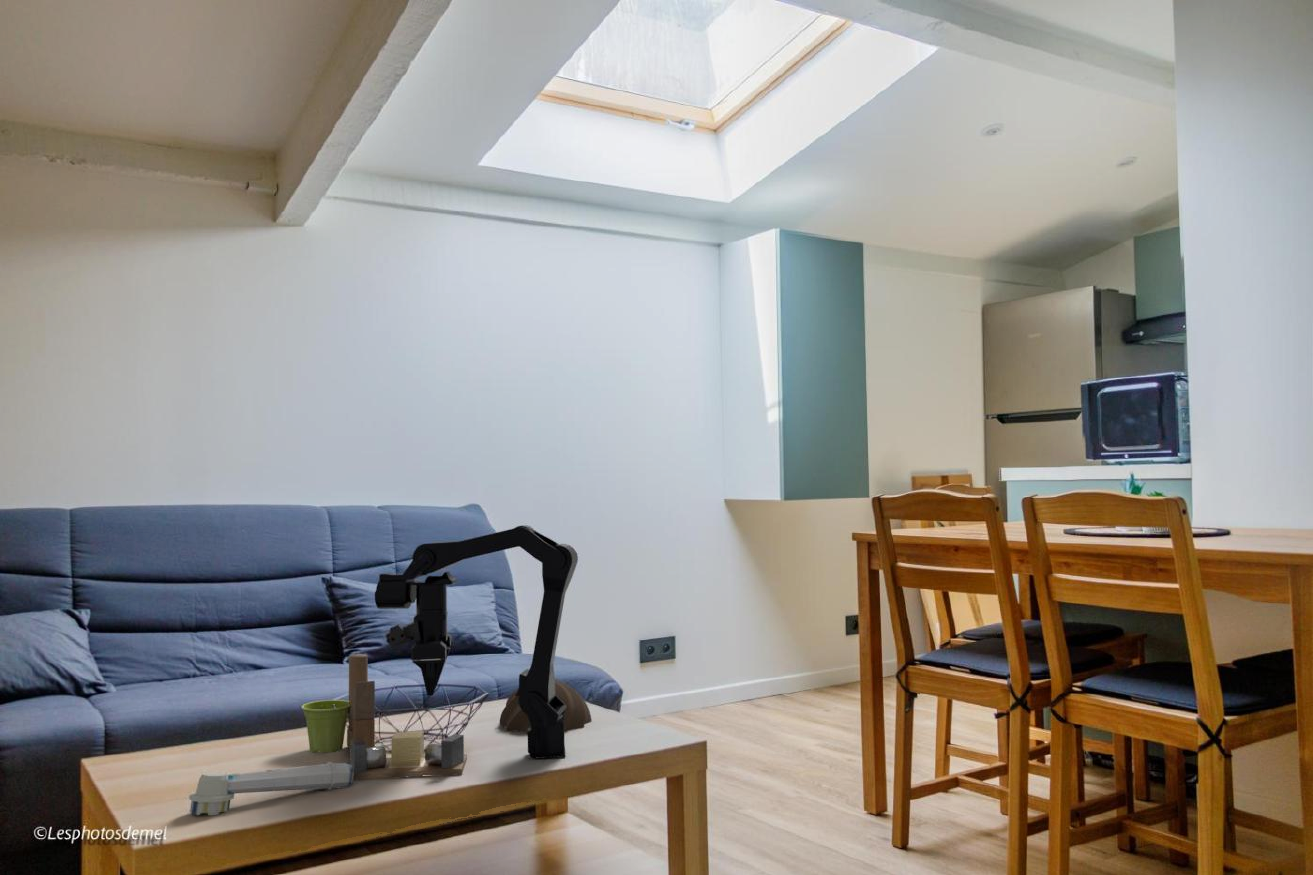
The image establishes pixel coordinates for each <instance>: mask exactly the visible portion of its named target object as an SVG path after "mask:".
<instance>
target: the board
mask: <svg viewBox="0 0 1313 875" xmlns="http://www.w3.org/2000/svg"><path fill="white" fill-rule="evenodd" d="M467 755H468V754H467V753H465V754H464V762H463V763H461V764H460V765H458V766H457V767H455V768H453V769H442V765H428V764H426V761H425V755H424V759H423V761H422V763H421V766H408V767H391V757H386V766H385V767H379V768H372V769H366V773H359V774H353V781H354V780H355V781H361V780H376V779H377V780H378V779H379V780H381V779H395V778H394V777H403V778H407V777H406V776H423V775H443V776H455V775H454V774H462V775H463V773H462V772H464V770H465V766H466V762H467V760H468V759H467ZM423 777H424V776H423Z"/></svg>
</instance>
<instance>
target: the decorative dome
mask: <svg viewBox="0 0 1313 875" xmlns="http://www.w3.org/2000/svg"><path fill="white" fill-rule="evenodd" d="M517 692H518V688H516V689H515V690H514V691H513V692H512V693H511V694H510V696H509V697H508V698H507V700H506V702H505V707H504V708H503V709H502V711H501V714H500V718H499V726H501V727H504V728H505V731H506V732H520V733H524V734H527V735H528V728H531V724H530V721H529V719H528V716H527V714H525V713H524V712H523V711H522V709H521V708H520V707H519V704H518V698H519V696H517V697H516V696H515V695H516V693H517ZM555 695H556V696H557V697H558V698H559V699H560V700H561V701H562V702H563V703H564V704H565V705H566V709H565V712H564V715H563V716H562V717H561V718H564V732H567V731H571V730H578V729H583V728H585V725H586V724H589V723H592V715H591V712H590V709H589V707H588V705H587V702H586V701H585V699H584V698H583V697H582V696H581V695H580V694H579V692H577V691H576V690H575V689H574V688H573V687H571V686H570V685H569V684H567V683H565V682H564V681H561V680H559V679H556V678H555Z"/></svg>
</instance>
